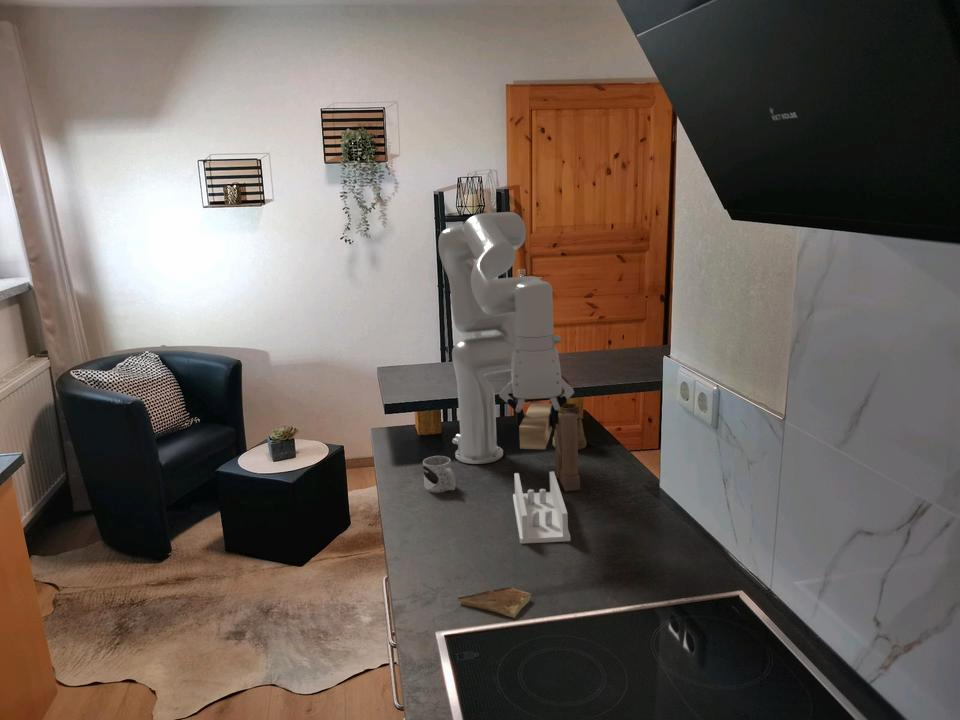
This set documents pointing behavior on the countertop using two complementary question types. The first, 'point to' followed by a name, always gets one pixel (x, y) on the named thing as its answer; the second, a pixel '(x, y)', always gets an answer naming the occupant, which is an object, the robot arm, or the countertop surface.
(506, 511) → the countertop surface
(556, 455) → the wooden block
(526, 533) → the peg stand
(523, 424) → the wooden bar
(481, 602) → the shard
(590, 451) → the countertop surface
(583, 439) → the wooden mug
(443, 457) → the mug
